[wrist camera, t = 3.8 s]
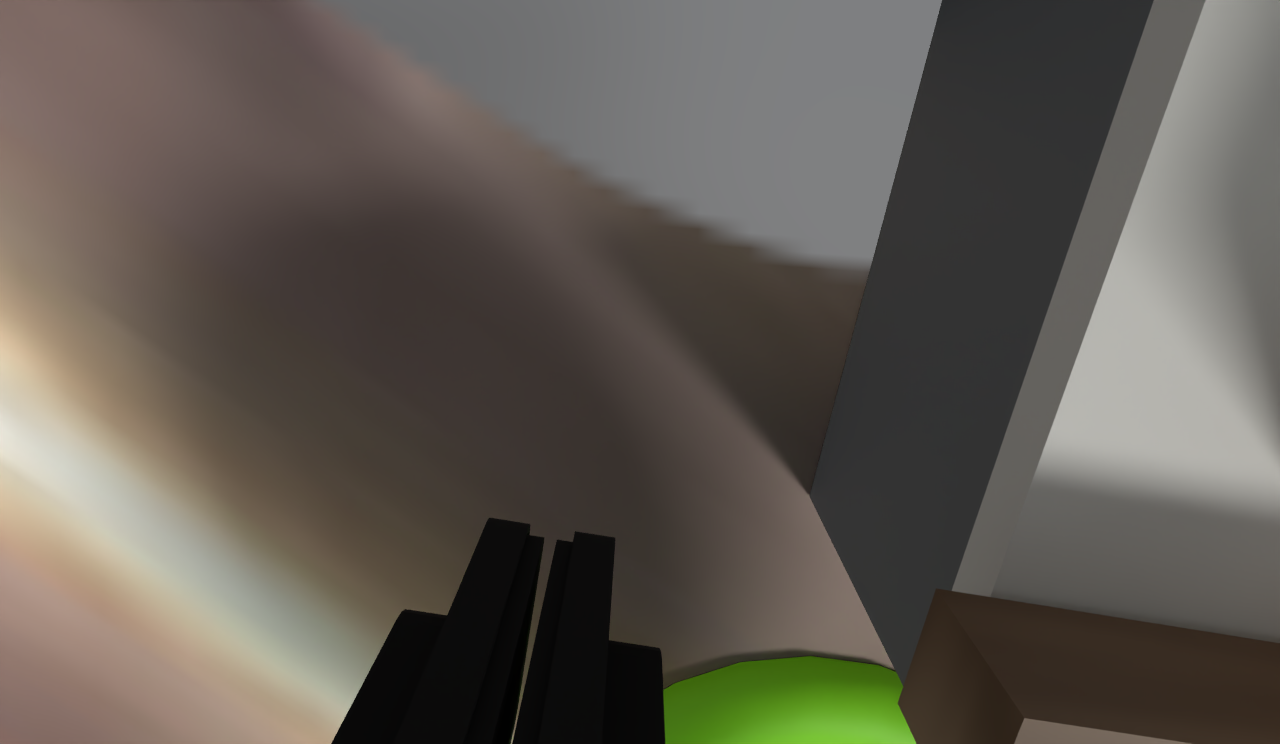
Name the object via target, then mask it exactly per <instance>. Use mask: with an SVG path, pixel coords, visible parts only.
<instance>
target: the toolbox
mask: <svg viewBox="0 0 1280 744" xmlns="http://www.w3.org/2000/svg"><path fill="white" fill-rule="evenodd" d="M1153 1H1154V0H942V3H941V7H940V11H939V15H938V18H937V22H936V26H935V30H934V33H933V37H932V41H931V45H930V48H929V52H928V56H927V59H926V63H925V67H924V71H923V74H922V78H921V82H920V86H919V90H918V94H917V97H916V101H915V104H914V108H913V112H912V115H911V119H910V123H909V127H908V131H907V134H906V138H905V142H904V145H903V149H902V153H901V157H900V160H899V164H898V168H897V171H896V175H895V179H894V183H893V186H892V190H891V194H890V198H889V202H888V205H887V209H886V213H885V216H884V220H883V224H882V227H881V231H880V235H879V239H878V243H877V246H876V250H875V254H874V257H873V261H872V265H871V269H870V272H869V276H868V280H867V283H866V287H865V291H864V295H863V298H862V302H861V306H860V310H859V313H858V317H857V321H856V324H855V328H854V332H853V336H852V339H851V343H850V347H849V351H848V354H847V358H846V362H845V366H844V369H843V373H842V377H841V380H840V384H839V388H838V392H837V395H836V399H835V403H834V407H833V410H832V414H831V418H830V422H829V425H828V429H827V433H826V436H825V440H824V444H823V448H822V451H821V455H820V459H819V463H818V466H817V470H816V474H815V478H814V481H813V485H812V489H811V492H810V498H811V500H812V502H813V504H814V506H815V508H816V510H817V512H818V515H819V517H820V519H821V521H822V523H823V525H824V527H825V529H826V531H827V533H828V535H829V537H830V539H831V541H832V543H833V545H834V547H835V549H836V551H837V553H838V555H839V557H840V559H841V561H842V563H843V565H844V567H845V569H846V571H847V573H848V575H849V577H850V579H851V581H852V583H853V585H854V587H855V589H856V591H857V593H858V596H859V598H860V600H861V602H862V604H863V606H864V608H865V610H866V612H867V614H868V616H869V618H870V620H871V622H872V624H873V626H874V628H875V630H876V632H877V634H878V636H879V638H880V640H881V642H882V644H883V646H884V648H885V650H886V652H887V654H888V656H889V658H890V660H891V662H892V664H893V666H894V668H895V670H896V672H897V674H898V677H899V679H900V681H901V683H902V685H904V682H905V679H906V676H907V674H908V671H909V668H910V665H911V662H912V659H913V656H914V653H915V650H916V647H917V644H918V641H919V638H920V635H921V632H922V629H923V626H924V623H925V620H926V617H927V614H928V611H929V608H930V605H931V602H932V599H933V596H934V593H935V590H936V588H937V589H943V590H949V591H952V588H953V585H954V582H955V579H956V576H957V573H958V571H959V568H960V565H961V562H962V559H963V556H964V553H965V550H966V547H967V544H968V541H969V538H970V535H971V533H972V530H973V527H974V524H975V521H976V518H977V515H978V512H979V509H980V506H981V503H982V500H983V498H984V495H985V492H986V489H987V486H988V483H989V480H990V477H991V474H992V471H993V468H994V465H995V463H996V460H997V457H998V454H999V451H1000V448H1001V445H1002V442H1003V439H1004V436H1005V433H1006V430H1007V427H1008V425H1009V422H1010V419H1011V416H1012V413H1013V410H1014V407H1015V404H1016V401H1017V398H1018V395H1019V392H1020V390H1021V387H1022V384H1023V381H1024V378H1025V375H1026V372H1027V369H1028V366H1029V363H1030V360H1031V357H1032V355H1033V352H1034V349H1035V346H1036V343H1037V340H1038V337H1039V334H1040V331H1041V328H1042V325H1043V322H1044V319H1045V317H1046V314H1047V311H1048V308H1049V305H1050V302H1051V299H1052V296H1053V293H1054V290H1055V287H1056V284H1057V282H1058V279H1059V276H1060V273H1061V270H1062V267H1063V264H1064V261H1065V258H1066V255H1067V252H1068V249H1069V246H1070V244H1071V241H1072V238H1073V235H1074V232H1075V229H1076V226H1077V223H1078V220H1079V217H1080V214H1081V211H1082V209H1083V206H1084V203H1085V200H1086V197H1087V194H1088V191H1089V188H1090V185H1091V182H1092V179H1093V176H1094V174H1095V171H1096V168H1097V165H1098V162H1099V159H1100V156H1101V153H1102V150H1103V147H1104V144H1105V141H1106V138H1107V136H1108V133H1109V130H1110V127H1111V124H1112V121H1113V118H1114V115H1115V112H1116V109H1117V106H1118V103H1119V101H1120V98H1121V95H1122V92H1123V89H1124V86H1125V83H1126V80H1127V77H1128V74H1129V71H1130V68H1131V66H1132V63H1133V60H1134V57H1135V54H1136V51H1137V48H1138V45H1139V42H1140V39H1141V36H1142V33H1143V30H1144V28H1145V25H1146V22H1147V19H1148V16H1149V13H1150V10H1151V7H1152V4H1153Z"/></svg>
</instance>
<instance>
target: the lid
mask: <svg viewBox="0 0 1280 744" xmlns="http://www.w3.org/2000/svg"><path fill="white" fill-rule="evenodd" d="M952 591H955V592H962V593H968V594H974V595H981V596H987V597H993V598H999V599H1006V600H1012V601H1018V602H1024V603H1031V604H1037V605H1043V606H1049V607H1056V608H1062V609H1068V610H1075V611H1081V612H1087V613H1093V614H1100V615H1106V616H1112V617H1118V618H1125V619H1131V620H1137V621H1143V622H1150V623H1156V624H1162V625H1169V626H1175V627H1181V628H1187V629H1194V630H1200V631H1206V632H1212V633H1219V634H1225V635H1231V636H1237V637H1244V638H1250V639H1256V640H1262V641H1269V642H1275V643H1280V0H1154V1H1153V4H1152V7H1151V10H1150V13H1149V16H1148V19H1147V22H1146V25H1145V28H1144V30H1143V33H1142V36H1141V39H1140V42H1139V45H1138V48H1137V51H1136V54H1135V57H1134V60H1133V63H1132V66H1131V68H1130V71H1129V74H1128V77H1127V80H1126V83H1125V86H1124V89H1123V92H1122V95H1121V98H1120V101H1119V103H1118V106H1117V109H1116V112H1115V115H1114V118H1113V121H1112V124H1111V127H1110V130H1109V133H1108V136H1107V138H1106V141H1105V144H1104V147H1103V150H1102V153H1101V156H1100V159H1099V162H1098V165H1097V168H1096V171H1095V174H1094V176H1093V179H1092V182H1091V185H1090V188H1089V191H1088V194H1087V197H1086V200H1085V203H1084V206H1083V209H1082V211H1081V214H1080V217H1079V220H1078V223H1077V226H1076V229H1075V232H1074V235H1073V238H1072V241H1071V244H1070V246H1069V249H1068V252H1067V255H1066V258H1065V261H1064V264H1063V267H1062V270H1061V273H1060V276H1059V279H1058V282H1057V284H1056V287H1055V290H1054V293H1053V296H1052V299H1051V302H1050V305H1049V308H1048V311H1047V314H1046V317H1045V319H1044V322H1043V325H1042V328H1041V331H1040V334H1039V337H1038V340H1037V343H1036V346H1035V349H1034V352H1033V355H1032V357H1031V360H1030V363H1029V366H1028V369H1027V372H1026V375H1025V378H1024V381H1023V384H1022V387H1021V390H1020V392H1019V395H1018V398H1017V401H1016V404H1015V407H1014V410H1013V413H1012V416H1011V419H1010V422H1009V425H1008V427H1007V430H1006V433H1005V436H1004V439H1003V442H1002V445H1001V448H1000V451H999V454H998V457H997V460H996V463H995V465H994V468H993V471H992V474H991V477H990V480H989V483H988V486H987V489H986V492H985V495H984V498H983V500H982V503H981V506H980V509H979V512H978V515H977V518H976V521H975V524H974V527H973V530H972V533H971V535H970V538H969V541H968V544H967V547H966V550H965V553H964V556H963V559H962V562H961V565H960V568H959V571H958V573H957V576H956V579H955V582H954V585H953V588H952Z"/></svg>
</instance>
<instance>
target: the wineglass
mask: <svg viewBox="0 0 1280 744" xmlns="http://www.w3.org/2000/svg"><path fill="white" fill-rule="evenodd" d="M902 688H903V685H902V683H901V681H900V679H899V677H898V674H897V672H895V671H892V670H890V669H887V668H884V667H882V666H879V665H873V664H866V663H858V662H851V661H844V660H836V659H829V658H821V657H814V656H805V657H793V658H782V659H771V660H760V661H749V662H739V663H736V664H733V665H730V666H727V667H724V668H721V669H718V670H714V671H711V672H708V673H705V674H702V675H699V676H696V677H693V678H689V679H686V680H683V681H680V682H677V683H674V684H672V685H671V686H669V687H668V688H666V689H664V690H663V698H664V722H665V744H916V742H915V739H914V737H913V735H912V733H911V731H910V729H909V727H908V724H907V722H906V720H905V718H904V716H903V714H902V712H901V709H900V707H899V705H898V700H899V697H900V694H901V691H902Z"/></svg>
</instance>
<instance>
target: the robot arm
mask: <svg viewBox="0 0 1280 744" xmlns="http://www.w3.org/2000/svg"><path fill="white" fill-rule="evenodd" d="M529 534H530V524H526V523H520V522H513V521H507V520H501V519H495V518H489V519H488V520H487V522H486V525H485V527H484V530H483V532H482V534H481V537H480V539H479V542H478V544H477V546H476V549H475V551H474V553H473V556H472V558H471V561H470V563H469V565H468V568H467V570H466V572H465V575H464V577H463V580H462V582H461V584H460V587H459V589H458V591H457V594H456V596H455V599H454V601H453V603H452V606H451V608H450V610H449V613H448V615H447V616H446V615H439V614H433V613H426V612H420V611H413V610H407V609H405V610H404V611H402V612H401V614H400V615H399V617H398V618H397V620H396V622H395V624H394V626H393V628H392V629H391V631H390V633H389V635H388V637H387V639H386V641H385V643H384V645H383V647H382V648H381V650H380V652H379V654H378V656H377V658H376V660H375V662H374V664H373V665H372V667H371V669H370V671H369V673H368V675H367V677H366V679H365V681H364V683H363V684H362V686H361V688H360V690H359V692H358V694H357V696H356V698H355V700H354V702H353V703H352V705H351V707H350V709H349V711H348V713H347V715H346V717H345V719H344V721H343V722H342V724H341V726H340V728H339V730H338V732H337V734H336V736H335V738H334V740H333V741H332V743H331V744H511V739H512V735H513V730H514V725H515V720H516V714H517V709H518V703H519V696H520V690H521V684H522V677H523V671H524V665H525V658H526V652H527V646H528V639H529V633H530V627H531V620H532V614H533V608H534V601H535V595H536V589H537V582H538V576H539V570H540V563H541V557H542V551H543V544H544V538H543V537H537V536H531V535H529ZM614 550H615V538H614V537H607V536H601V535H595V534H589V533H582V532H576V531H575V535H574V540H573V542H569V541H562V540H557V542H556V547H555V551H554V556H553V560H552V565H551V569H550V574H549V579H548V583H547V588H546V592H545V597H544V601H543V606H542V611H541V615H540V620H539V624H538V629H537V633H536V638H535V643H534V647H533V652H532V656H531V661H530V666H529V670H528V675H527V679H526V684H525V688H524V693H523V698H522V702H521V707H520V711H519V716H518V720H517V725H516V730H515V734H514V739H513V743H512V744H665V722H664V698H663V674H662V656H661V650H660V649H659V648H655V647H649V646H642V645H636V644H629V643H623V642H616V641H610V640H609V625H610V610H611V595H612V580H613V565H614Z"/></svg>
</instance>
